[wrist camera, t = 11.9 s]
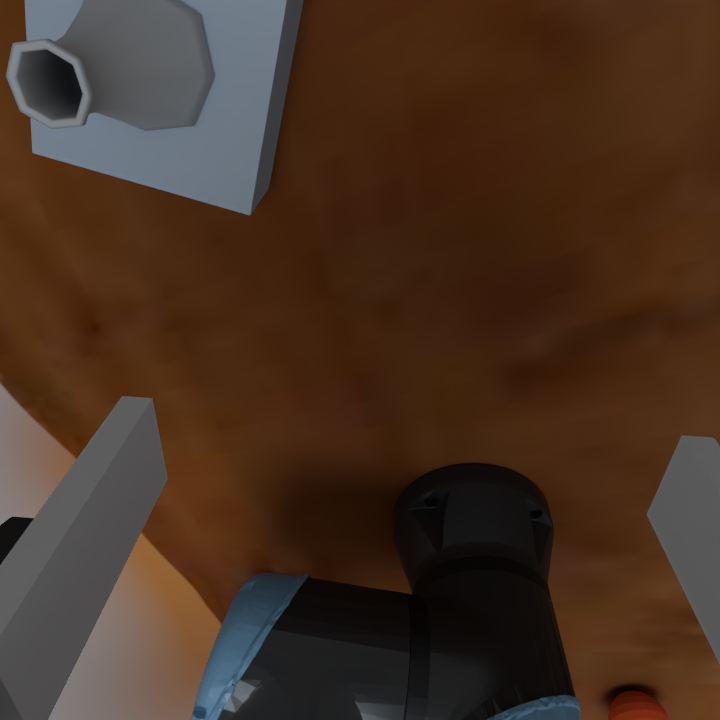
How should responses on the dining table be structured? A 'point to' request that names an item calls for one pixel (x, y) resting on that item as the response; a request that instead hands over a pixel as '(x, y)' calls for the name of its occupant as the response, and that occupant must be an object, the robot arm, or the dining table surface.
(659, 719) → the clementine
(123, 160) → the grey block
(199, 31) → the flask
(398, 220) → the dining table surface
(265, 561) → the dining table surface
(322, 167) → the dining table surface
